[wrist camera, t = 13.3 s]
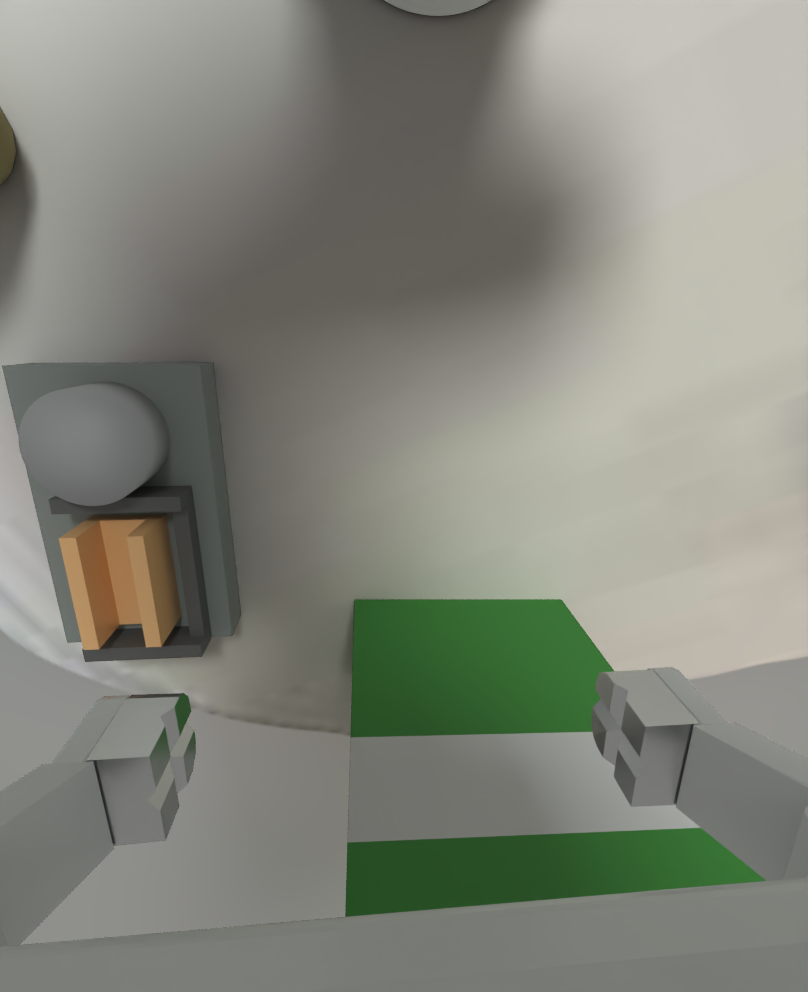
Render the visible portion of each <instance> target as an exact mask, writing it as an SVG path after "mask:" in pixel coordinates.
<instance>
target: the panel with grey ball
mask: <svg viewBox="0 0 808 992" xmlns="http://www.w3.org/2000/svg"><path fill="white" fill-rule="evenodd" d="M2 368H3V372H4V376H5V380H6V385H7V389H8V393H9V397H10V402H11V406H12V410H13V414H14V419H15V423H16V427H17V431H18V435H19V447H20V452H21V455H22V458H23V460H24V463H25V465H26V469H27V474H28V478H29V482H30V486H31V491H32V495H33V499H34V503H35V508H36V512H37V516H38V520H39V524H40V529H41V533H42V537H43V541H44V546H45V550H46V554H47V558H48V563H49V567H50V571H51V575H52V580H53V584H54V588H55V592H56V596H57V601H58V605H59V609H60V613H61V618H62V622H63V626H64V630H65V635H66V639H67V643H70V642H82V641H81V636H80V632H79V627H78V623H77V618H76V614H75V609H74V605H73V601H72V596H71V592H70V587H69V583H68V578H67V574H66V569H65V565H64V560H63V556H62V551H61V547H60V542H59V538H60V537H61V536H63V535H64V534H66V533H67V532H69V531H70V530H72V529H73V528H75V527H76V526H77V525H79V524H80V523H82V522H83V521H85V520H86V519H88V518H89V517H91V516H109V515H153V514H166V515H167V521H168V528H169V535H170V541H171V548H172V555H173V561H174V568H175V575H176V581H177V588H178V594H179V601H180V608H181V614H182V615H181V617H180V618H179V620H178V622H177V623H176V625H175V626H174V628H173V629H172V631H171V633H170V634H169V636H168V637H167V639H166V640H165V642H164V644H163V645H162V647H146V644H145V639H144V633H143V628H142V624H122V625H119V626H118V627H117V629H116V630H115V631H114V632H113V633H112V635H111V636H110V637H109V638H108V639H107V641H106V642H105V643H104V644H103V645H102V647H101V648H100V649H96V650H83V649H82V651H83V655H84V659H85V662H92V661H115V660H137V659H159V658H182V657H202V656H203V654H204V652H205V650H206V648H207V646H208V644H209V642H210V640H211V637H214V636H232V635H233V633H234V630H235V628H236V625H237V623H238V621H239V618H240V616H241V610H240V601H239V592H238V583H237V574H236V565H235V556H234V547H233V538H232V529H231V520H230V511H229V502H228V493H227V484H226V475H225V466H224V457H223V448H222V439H221V430H220V421H219V412H218V403H217V394H216V385H215V376H214V367H213V363H27V364H17V365H6V366H2Z"/></svg>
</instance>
